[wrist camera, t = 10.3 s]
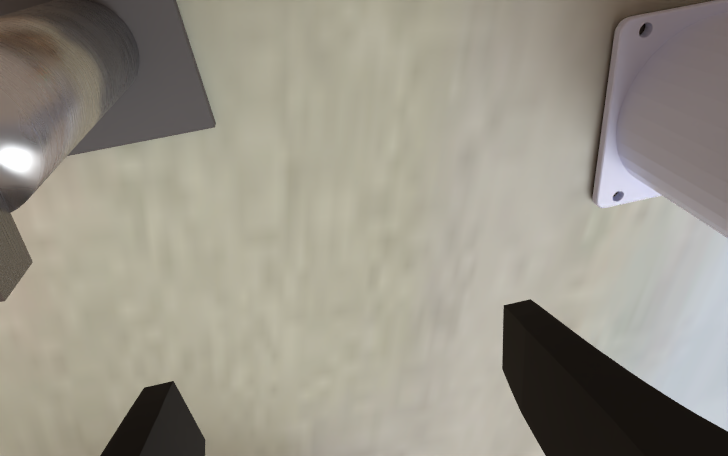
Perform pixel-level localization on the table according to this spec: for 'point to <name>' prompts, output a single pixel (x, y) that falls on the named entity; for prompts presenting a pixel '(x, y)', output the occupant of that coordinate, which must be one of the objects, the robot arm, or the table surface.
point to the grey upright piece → (52, 100)
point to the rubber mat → (148, 78)
